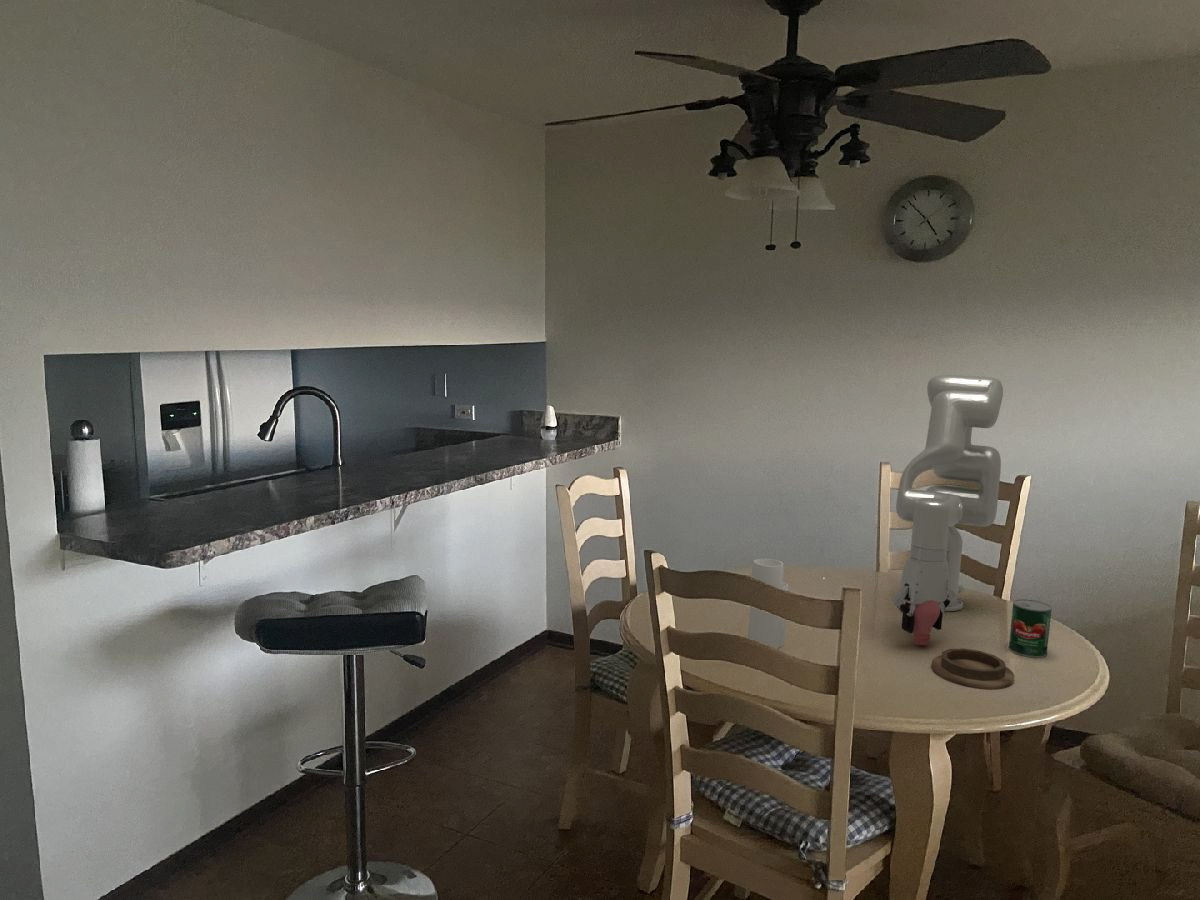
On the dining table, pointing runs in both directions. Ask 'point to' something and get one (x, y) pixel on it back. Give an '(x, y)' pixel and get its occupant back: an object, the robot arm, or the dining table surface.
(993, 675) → the holder
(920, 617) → the light bulb
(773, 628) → the vase
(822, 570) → the dining table surface
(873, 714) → the dining table surface
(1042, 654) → the canned tomato
